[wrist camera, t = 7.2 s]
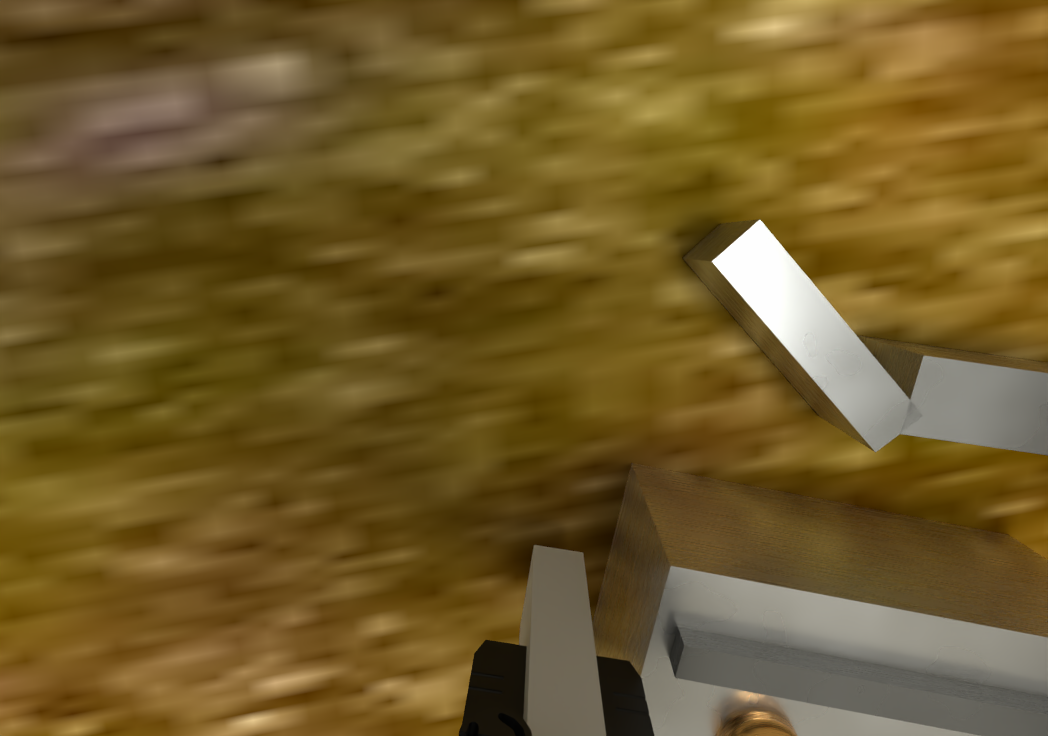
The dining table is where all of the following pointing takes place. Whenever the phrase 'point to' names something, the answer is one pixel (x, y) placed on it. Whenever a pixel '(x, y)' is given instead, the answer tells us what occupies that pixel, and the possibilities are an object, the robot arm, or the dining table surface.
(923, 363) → the slide dock
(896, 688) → the block
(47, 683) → the dining table surface
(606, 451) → the dining table surface
